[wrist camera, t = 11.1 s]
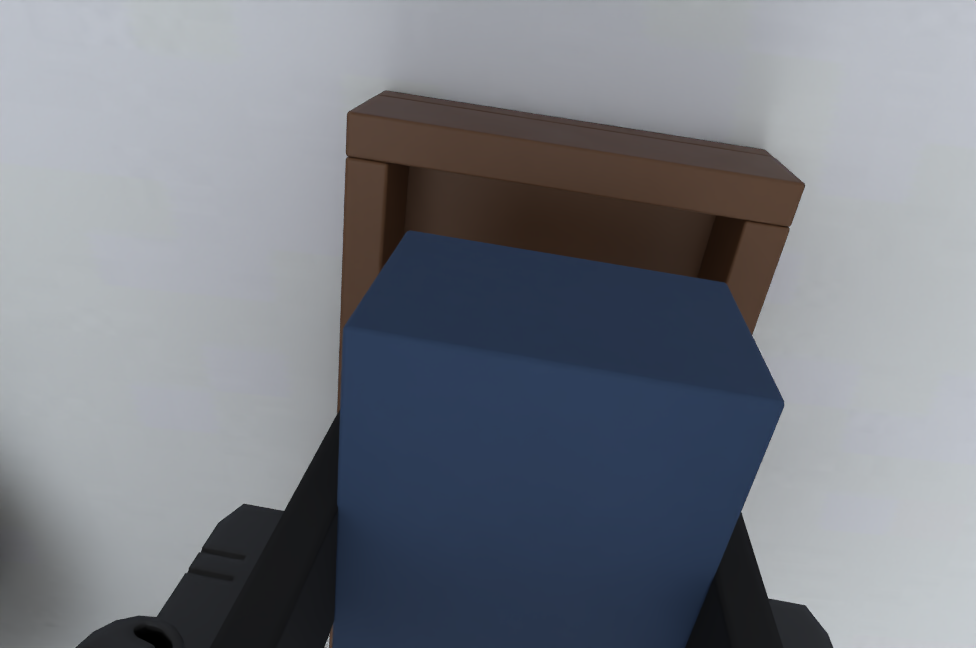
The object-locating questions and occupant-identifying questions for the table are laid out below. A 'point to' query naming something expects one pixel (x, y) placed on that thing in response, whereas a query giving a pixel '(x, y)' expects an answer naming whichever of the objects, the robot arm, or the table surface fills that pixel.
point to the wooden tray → (559, 194)
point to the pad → (539, 450)
